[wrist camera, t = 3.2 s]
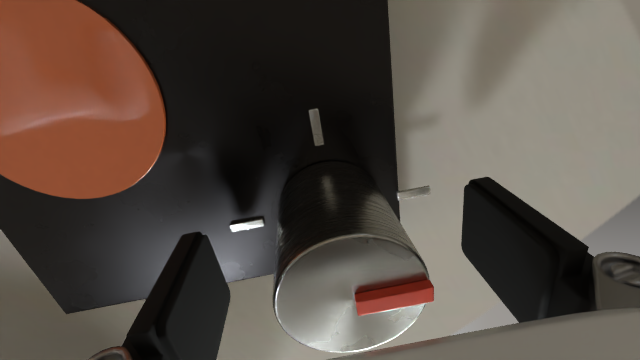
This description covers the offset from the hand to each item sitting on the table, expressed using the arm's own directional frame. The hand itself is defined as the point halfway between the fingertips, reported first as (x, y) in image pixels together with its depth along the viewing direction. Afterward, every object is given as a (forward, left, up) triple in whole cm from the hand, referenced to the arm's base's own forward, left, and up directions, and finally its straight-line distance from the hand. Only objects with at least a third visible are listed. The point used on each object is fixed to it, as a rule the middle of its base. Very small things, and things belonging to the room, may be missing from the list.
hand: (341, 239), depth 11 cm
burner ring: (-9, +6, -2) cm, 11 cm away
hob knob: (0, 0, -2) cm, 2 cm away
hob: (-5, +4, -5) cm, 8 cm away
